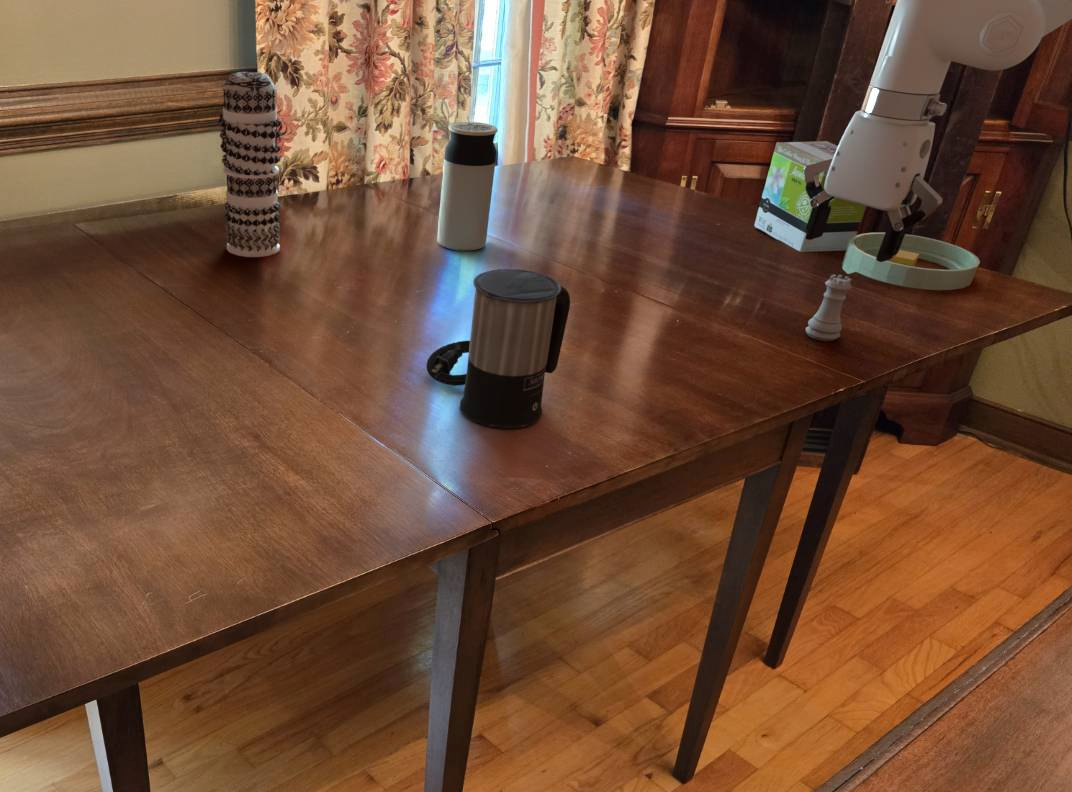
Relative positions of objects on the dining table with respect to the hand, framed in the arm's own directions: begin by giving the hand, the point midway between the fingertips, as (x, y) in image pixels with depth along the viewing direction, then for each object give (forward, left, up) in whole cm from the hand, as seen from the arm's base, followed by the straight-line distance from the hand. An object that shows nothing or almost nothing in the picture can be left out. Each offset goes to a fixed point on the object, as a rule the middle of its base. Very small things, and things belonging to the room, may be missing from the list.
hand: (847, 248), depth 123 cm
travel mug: (+55, +15, -12) cm, 58 cm away
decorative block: (+5, -30, -11) cm, 32 cm away
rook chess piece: (0, 0, -12) cm, 12 cm away
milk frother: (+13, +52, -12) cm, 55 cm away
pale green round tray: (+5, -33, -12) cm, 35 cm away
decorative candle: (+71, +45, -12) cm, 85 cm away
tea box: (+25, -37, -12) cm, 46 cm away
